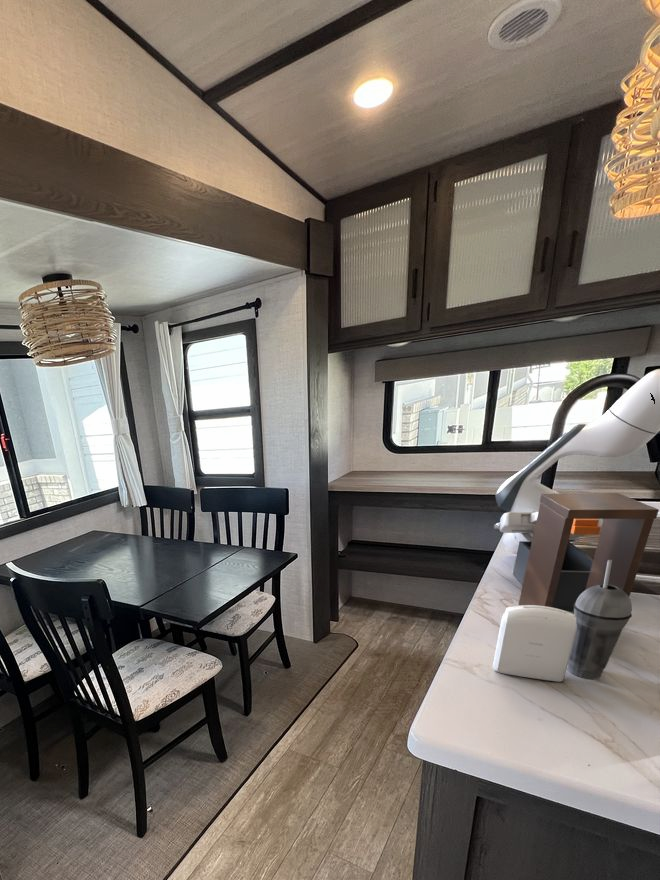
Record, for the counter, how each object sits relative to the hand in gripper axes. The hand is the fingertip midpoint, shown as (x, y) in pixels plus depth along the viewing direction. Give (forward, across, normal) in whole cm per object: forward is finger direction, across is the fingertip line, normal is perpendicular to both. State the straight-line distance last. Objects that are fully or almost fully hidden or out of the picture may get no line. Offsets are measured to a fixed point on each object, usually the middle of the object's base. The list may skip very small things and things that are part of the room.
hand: (562, 513), depth 105 cm
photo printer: (+28, -16, +36) cm, 48 cm away
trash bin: (-5, 0, +17) cm, 18 cm away
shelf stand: (+15, -6, +28) cm, 33 cm away
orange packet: (+3, 0, +3) cm, 4 cm away
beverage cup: (+26, -7, +35) cm, 44 cm away
